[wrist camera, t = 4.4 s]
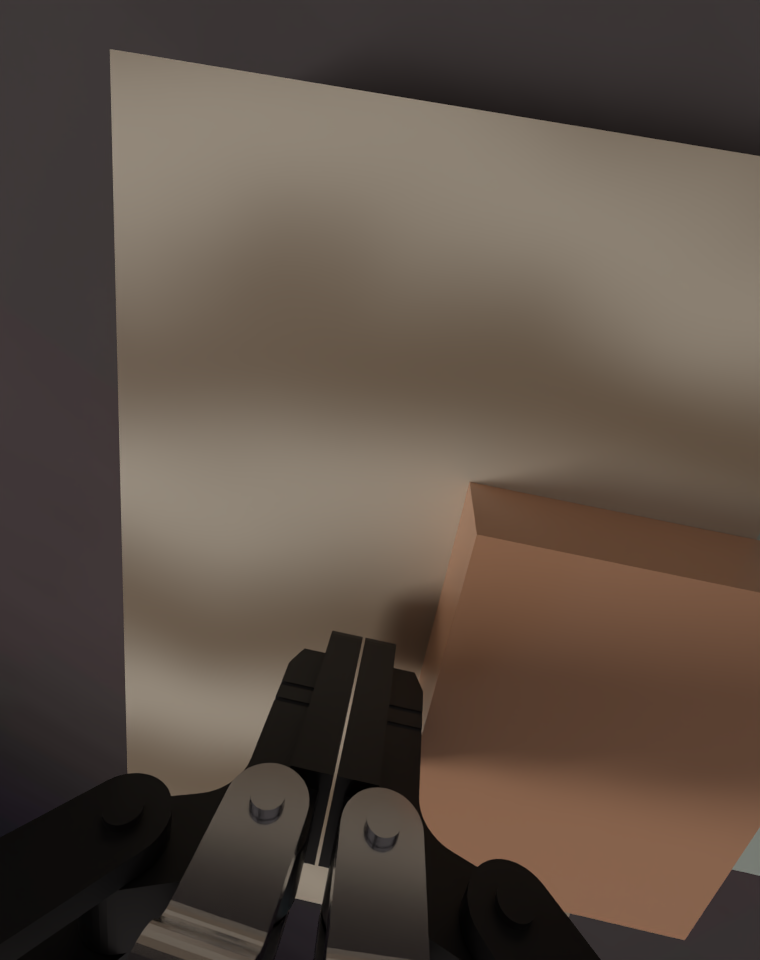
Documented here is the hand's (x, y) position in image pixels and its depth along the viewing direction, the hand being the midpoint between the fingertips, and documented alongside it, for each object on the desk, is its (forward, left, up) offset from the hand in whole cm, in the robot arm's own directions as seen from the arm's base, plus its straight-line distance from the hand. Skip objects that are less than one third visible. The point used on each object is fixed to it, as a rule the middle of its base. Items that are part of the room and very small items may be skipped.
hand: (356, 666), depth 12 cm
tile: (0, +5, 0) cm, 5 cm away
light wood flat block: (0, +1, -5) cm, 5 cm away
